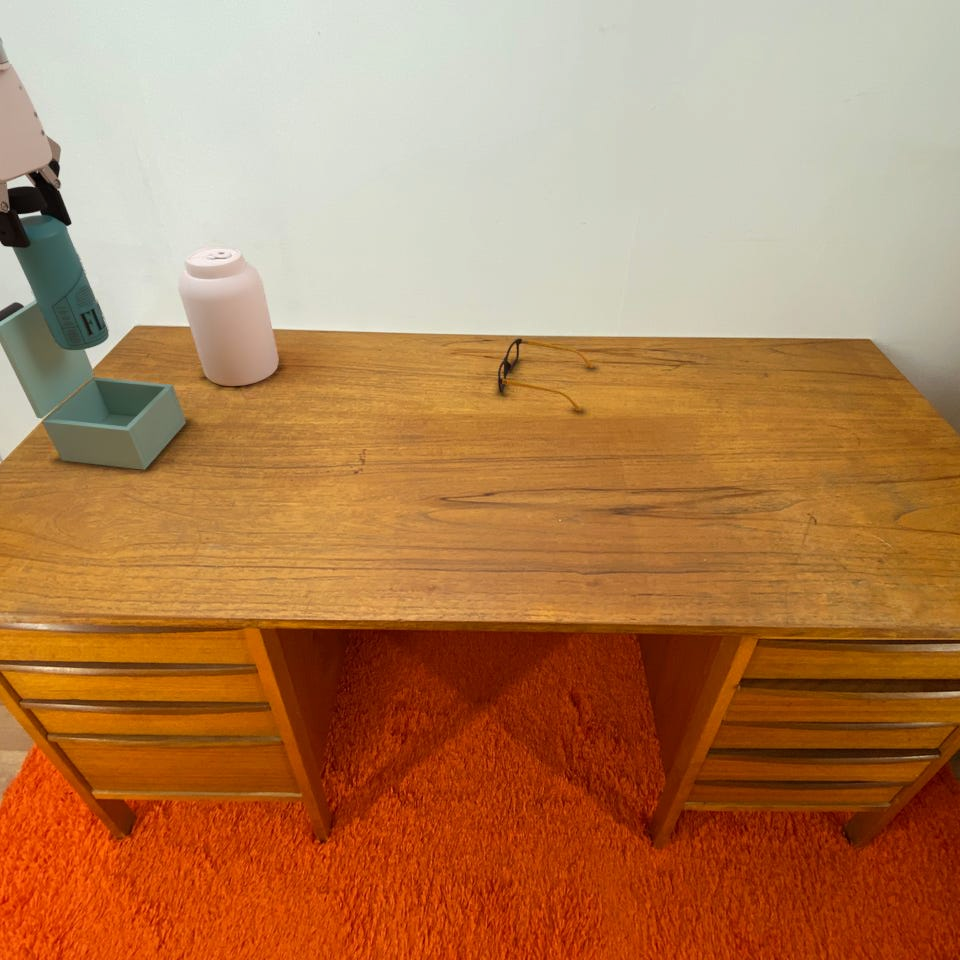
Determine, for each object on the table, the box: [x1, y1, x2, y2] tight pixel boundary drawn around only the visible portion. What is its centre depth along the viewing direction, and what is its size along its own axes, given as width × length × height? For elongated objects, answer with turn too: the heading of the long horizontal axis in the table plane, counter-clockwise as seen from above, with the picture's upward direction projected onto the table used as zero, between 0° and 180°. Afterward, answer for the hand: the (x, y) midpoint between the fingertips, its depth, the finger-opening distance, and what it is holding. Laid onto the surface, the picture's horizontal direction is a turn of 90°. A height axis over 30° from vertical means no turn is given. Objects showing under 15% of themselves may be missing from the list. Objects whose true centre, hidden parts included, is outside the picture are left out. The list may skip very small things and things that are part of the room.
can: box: [178, 245, 280, 387], centre depth 104 cm, size 12×12×20 cm
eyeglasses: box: [497, 338, 594, 412], centre depth 107 cm, size 14×14×4 cm
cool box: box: [41, 376, 187, 471], centre depth 92 cm, size 13×12×7 cm
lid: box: [0, 299, 95, 419], centre depth 86 cm, size 13×12×6 cm
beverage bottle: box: [7, 185, 110, 350], centre depth 78 cm, size 6×7×20 cm
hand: (38, 233), depth 75 cm, fingers closed on beverage bottle, 6 cm apart
